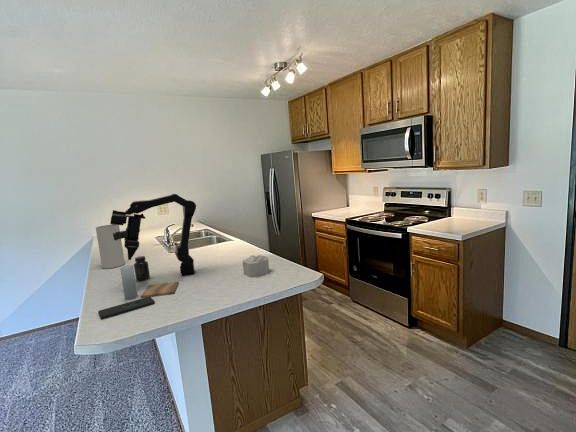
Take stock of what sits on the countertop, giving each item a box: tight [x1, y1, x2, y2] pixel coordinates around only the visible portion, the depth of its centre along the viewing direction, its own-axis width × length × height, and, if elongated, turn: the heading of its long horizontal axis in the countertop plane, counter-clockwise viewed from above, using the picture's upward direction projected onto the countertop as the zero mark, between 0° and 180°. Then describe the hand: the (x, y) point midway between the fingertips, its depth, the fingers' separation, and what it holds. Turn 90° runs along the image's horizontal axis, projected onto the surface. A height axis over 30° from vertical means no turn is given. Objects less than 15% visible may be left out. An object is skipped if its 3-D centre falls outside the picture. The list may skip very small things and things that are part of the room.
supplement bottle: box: [133, 255, 151, 282], centre depth 169 cm, size 7×7×12 cm
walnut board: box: [140, 281, 180, 299], centre depth 151 cm, size 14×14×1 cm
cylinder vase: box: [95, 224, 126, 270], centre depth 198 cm, size 12×12×25 cm
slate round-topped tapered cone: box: [119, 264, 138, 301], centre depth 144 cm, size 5×5×14 cm
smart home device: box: [98, 297, 156, 321], centre depth 133 cm, size 8×2×20 cm
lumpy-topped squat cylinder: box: [242, 254, 270, 278], centre depth 166 cm, size 10×13×9 cm
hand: (129, 257), depth 159 cm, fingers open, 9 cm apart
